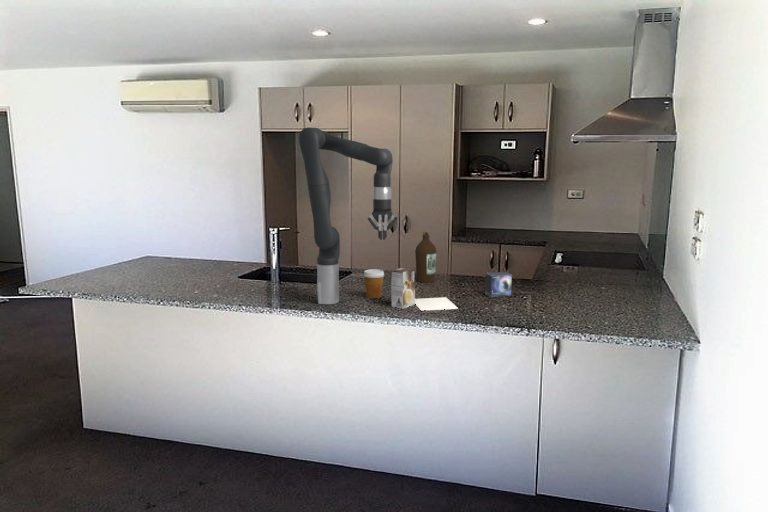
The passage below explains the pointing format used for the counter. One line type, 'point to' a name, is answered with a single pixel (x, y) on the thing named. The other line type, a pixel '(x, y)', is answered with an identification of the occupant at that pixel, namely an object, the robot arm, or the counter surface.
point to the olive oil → (425, 260)
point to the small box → (498, 284)
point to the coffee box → (403, 287)
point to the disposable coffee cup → (373, 282)
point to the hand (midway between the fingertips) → (382, 239)
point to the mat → (434, 304)
